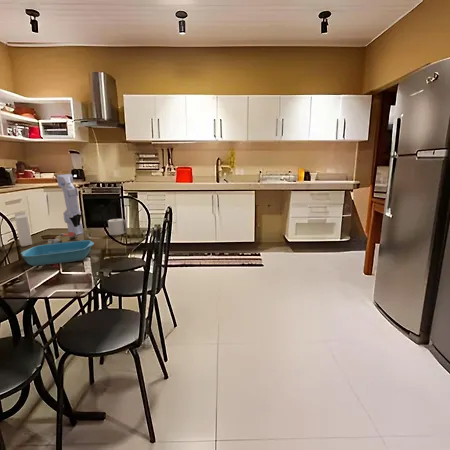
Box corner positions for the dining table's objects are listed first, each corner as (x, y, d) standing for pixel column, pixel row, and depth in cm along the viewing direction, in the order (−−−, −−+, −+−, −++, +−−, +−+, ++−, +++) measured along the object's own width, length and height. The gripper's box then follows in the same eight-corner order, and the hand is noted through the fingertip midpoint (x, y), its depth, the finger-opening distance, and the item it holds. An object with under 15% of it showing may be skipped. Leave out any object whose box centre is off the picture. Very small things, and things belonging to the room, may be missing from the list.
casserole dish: (15, 270, 161) (12, 256, 160) (32, 256, 183) (29, 245, 181) (91, 261, 168) (89, 248, 167) (98, 249, 190) (97, 238, 188)
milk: (32, 244, 209) (26, 212, 204) (21, 246, 205) (15, 213, 200) (30, 243, 213) (24, 211, 209) (20, 244, 210) (13, 212, 205)
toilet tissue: (109, 232, 231) (108, 219, 229) (126, 230, 234) (125, 217, 232) (109, 236, 221) (107, 222, 219) (126, 234, 224) (125, 220, 222)
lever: (58, 235, 212) (58, 232, 211) (62, 234, 214) (61, 231, 213) (72, 237, 207) (71, 233, 206) (75, 235, 209) (74, 232, 208)
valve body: (72, 237, 223) (71, 232, 222) (78, 237, 221) (77, 232, 220) (47, 245, 205) (46, 239, 205) (52, 245, 203) (51, 240, 202)
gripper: (72, 204, 216) (75, 224, 219) (63, 208, 202) (66, 228, 205) (82, 204, 216) (85, 223, 219) (74, 207, 202) (77, 228, 205)
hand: (77, 225), depth 212 cm, fingers open, 3 cm apart
